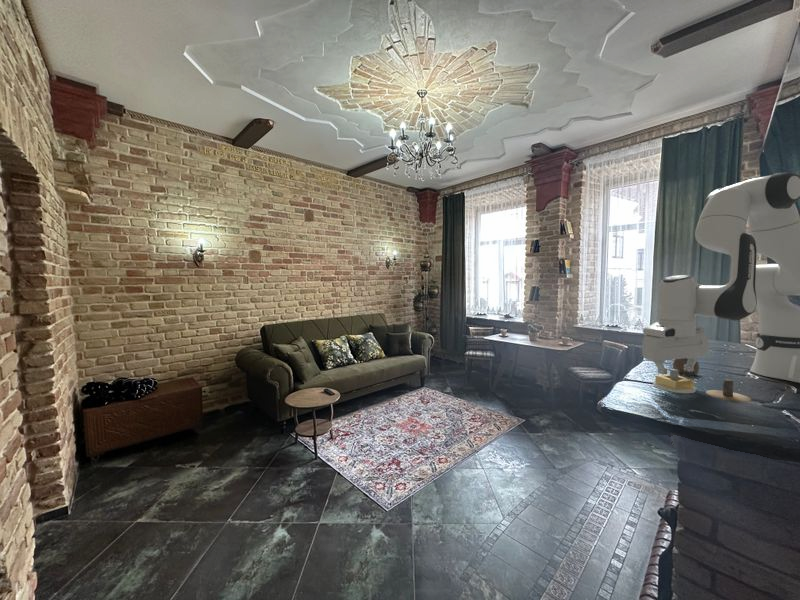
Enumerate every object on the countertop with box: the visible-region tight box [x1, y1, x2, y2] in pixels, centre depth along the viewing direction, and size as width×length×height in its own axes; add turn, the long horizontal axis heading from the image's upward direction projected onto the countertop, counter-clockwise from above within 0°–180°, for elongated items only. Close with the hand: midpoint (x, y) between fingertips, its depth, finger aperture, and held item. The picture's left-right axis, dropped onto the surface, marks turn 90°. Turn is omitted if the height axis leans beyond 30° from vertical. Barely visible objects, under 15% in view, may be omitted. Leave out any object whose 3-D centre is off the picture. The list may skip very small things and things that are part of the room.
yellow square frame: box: [655, 373, 695, 390], centre depth 98 cm, size 6×6×2 cm
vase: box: [672, 358, 700, 376], centre depth 112 cm, size 7×7×9 cm
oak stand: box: [705, 378, 752, 403], centre depth 90 cm, size 9×9×6 cm
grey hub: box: [652, 368, 697, 394], centre depth 98 cm, size 10×10×7 cm
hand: (675, 372), depth 98 cm, fingers open, 8 cm apart
